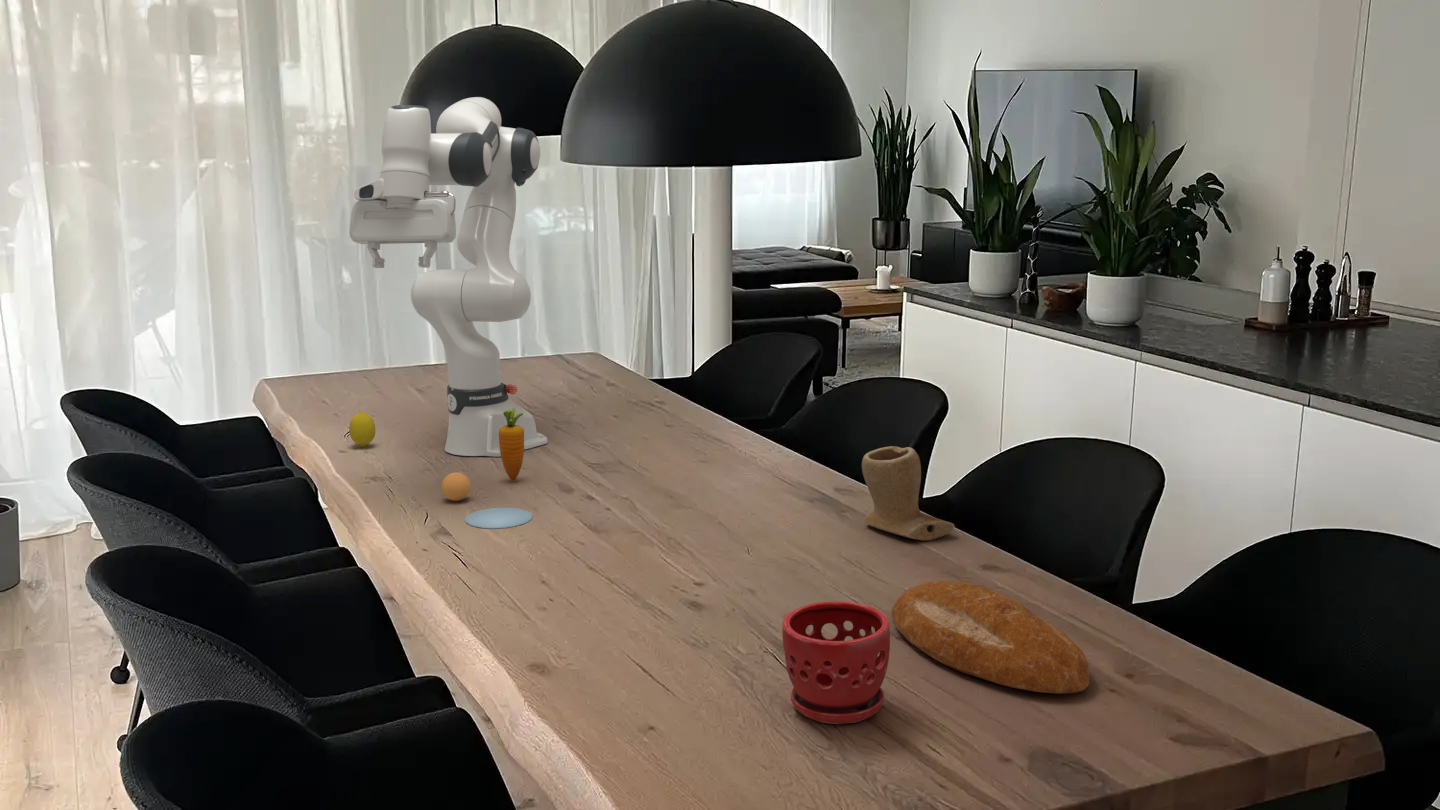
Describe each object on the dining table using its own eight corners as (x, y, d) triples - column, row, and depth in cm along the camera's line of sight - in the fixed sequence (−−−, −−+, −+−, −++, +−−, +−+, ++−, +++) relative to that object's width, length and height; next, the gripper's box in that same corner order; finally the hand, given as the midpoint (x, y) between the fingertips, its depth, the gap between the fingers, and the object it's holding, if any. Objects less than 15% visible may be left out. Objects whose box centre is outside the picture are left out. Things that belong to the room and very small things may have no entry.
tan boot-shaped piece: (846, 527, 237) (848, 445, 234) (897, 515, 244) (899, 435, 241) (904, 550, 225) (906, 464, 222) (956, 537, 232) (959, 453, 228)
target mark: (509, 504, 252) (509, 503, 252) (545, 519, 243) (545, 518, 243) (453, 517, 244) (452, 516, 244) (487, 533, 235) (487, 532, 235)
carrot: (512, 476, 271) (509, 403, 267) (531, 480, 268) (528, 406, 264) (495, 482, 267) (492, 408, 263) (513, 486, 264) (510, 411, 260)
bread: (1024, 718, 165) (1028, 650, 163) (855, 624, 195) (856, 566, 193) (1127, 687, 173) (1131, 622, 172) (950, 601, 203) (951, 545, 201)
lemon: (369, 450, 291) (367, 415, 289) (346, 449, 292) (343, 413, 290) (380, 444, 296) (378, 409, 294) (357, 443, 297) (355, 408, 296)
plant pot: (795, 681, 175) (796, 594, 172) (896, 693, 171) (898, 605, 169) (770, 725, 163) (770, 633, 160) (877, 739, 159) (879, 645, 156)
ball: (462, 494, 258) (460, 467, 257) (476, 500, 254) (475, 473, 253) (437, 499, 255) (435, 472, 254) (451, 506, 251) (450, 478, 250)
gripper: (464, 194, 245) (460, 269, 244) (365, 196, 251) (361, 270, 250) (447, 186, 239) (444, 264, 238) (346, 190, 245) (343, 265, 244)
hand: (401, 267), depth 244 cm, fingers open, 8 cm apart
